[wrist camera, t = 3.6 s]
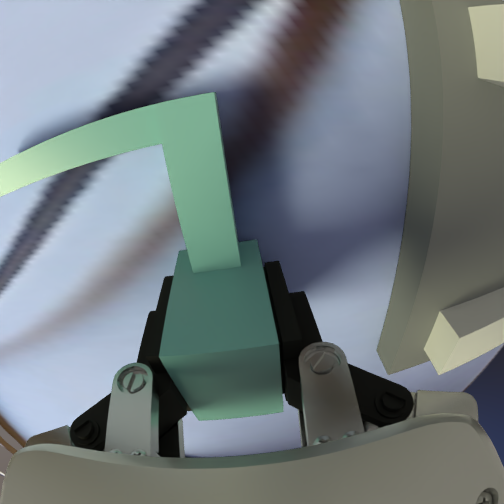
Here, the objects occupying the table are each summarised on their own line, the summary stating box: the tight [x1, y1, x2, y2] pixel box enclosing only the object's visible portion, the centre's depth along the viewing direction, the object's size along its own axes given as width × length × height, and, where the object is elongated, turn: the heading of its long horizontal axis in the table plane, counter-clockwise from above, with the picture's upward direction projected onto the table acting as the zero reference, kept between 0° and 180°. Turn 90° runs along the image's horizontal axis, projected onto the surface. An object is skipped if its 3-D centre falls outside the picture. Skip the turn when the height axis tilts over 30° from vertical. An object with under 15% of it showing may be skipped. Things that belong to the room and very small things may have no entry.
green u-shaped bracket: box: [0, 92, 283, 421], centre depth 10 cm, size 15×10×5 cm, turn 6°
